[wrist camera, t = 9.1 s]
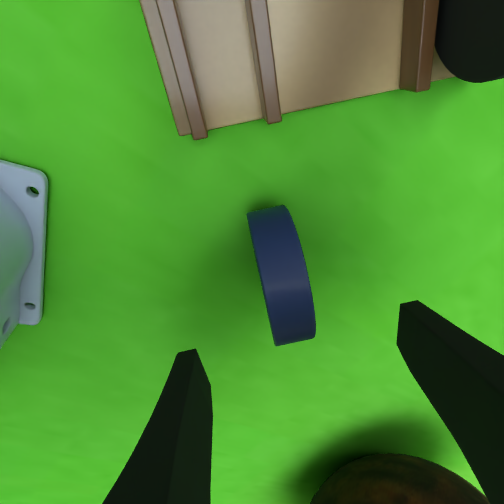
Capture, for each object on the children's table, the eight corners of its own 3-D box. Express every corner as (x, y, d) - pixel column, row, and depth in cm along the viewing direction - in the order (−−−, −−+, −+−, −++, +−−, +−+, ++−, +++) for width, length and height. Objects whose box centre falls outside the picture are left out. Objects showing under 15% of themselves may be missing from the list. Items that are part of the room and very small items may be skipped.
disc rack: (180, 132, 15) (176, 144, 13) (118, -80, 11) (100, -105, 9) (482, 67, 15) (522, 70, 13) (524, -168, 11) (589, -212, 9)
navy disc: (260, 282, 20) (281, 374, 15) (240, 189, 16) (259, 271, 11) (289, 276, 20) (319, 366, 15) (276, 182, 16) (311, 260, 11)
